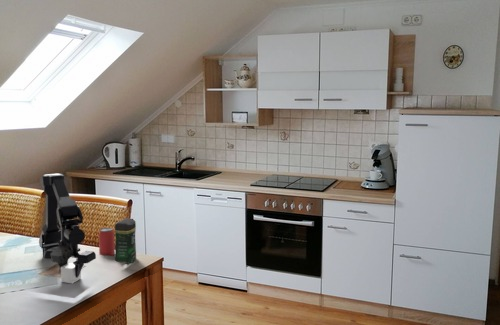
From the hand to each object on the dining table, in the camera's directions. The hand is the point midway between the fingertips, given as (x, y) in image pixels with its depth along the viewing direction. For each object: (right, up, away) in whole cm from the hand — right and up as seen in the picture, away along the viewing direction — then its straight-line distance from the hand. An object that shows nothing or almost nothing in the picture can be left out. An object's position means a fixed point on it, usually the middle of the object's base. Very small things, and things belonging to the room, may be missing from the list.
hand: (71, 276), depth 172 cm
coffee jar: (+14, 0, +25) cm, 29 cm away
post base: (-8, -2, +11) cm, 13 cm away
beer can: (+4, +1, +32) cm, 33 cm away
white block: (0, -1, 0) cm, 2 cm away
